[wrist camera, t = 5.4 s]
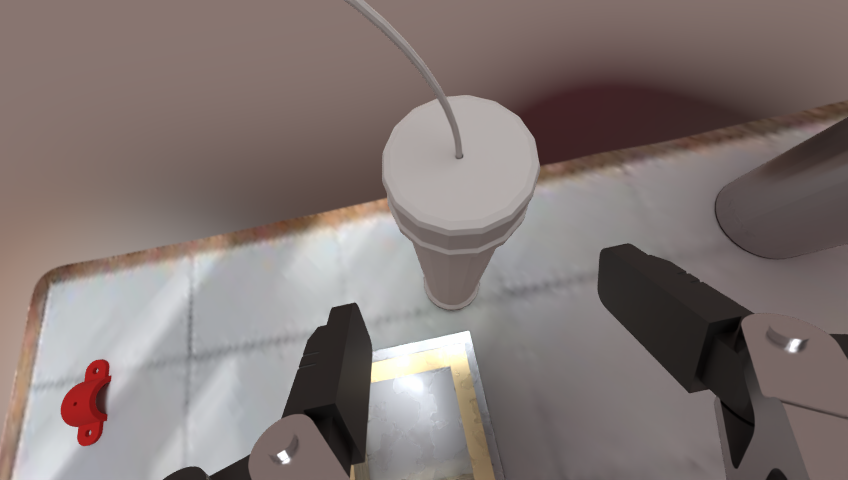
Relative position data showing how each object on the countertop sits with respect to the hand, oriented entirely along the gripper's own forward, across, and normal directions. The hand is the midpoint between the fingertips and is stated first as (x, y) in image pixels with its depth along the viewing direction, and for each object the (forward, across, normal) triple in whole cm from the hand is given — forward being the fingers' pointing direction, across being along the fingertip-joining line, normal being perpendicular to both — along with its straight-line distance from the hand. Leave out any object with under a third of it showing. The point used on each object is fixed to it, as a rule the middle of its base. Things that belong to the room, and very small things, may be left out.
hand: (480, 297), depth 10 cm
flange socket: (+11, +6, +21) cm, 25 cm away
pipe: (+19, 0, +13) cm, 23 cm away
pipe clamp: (+17, +38, +16) cm, 45 cm away
